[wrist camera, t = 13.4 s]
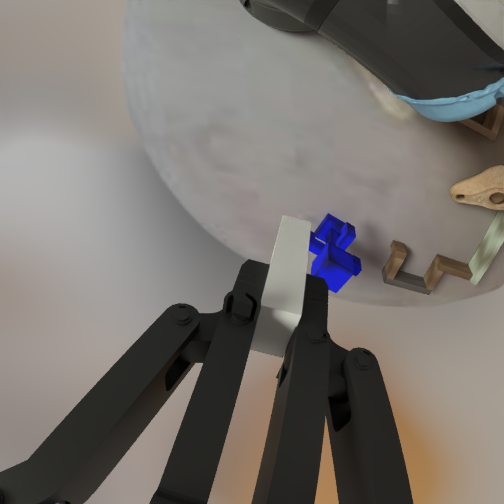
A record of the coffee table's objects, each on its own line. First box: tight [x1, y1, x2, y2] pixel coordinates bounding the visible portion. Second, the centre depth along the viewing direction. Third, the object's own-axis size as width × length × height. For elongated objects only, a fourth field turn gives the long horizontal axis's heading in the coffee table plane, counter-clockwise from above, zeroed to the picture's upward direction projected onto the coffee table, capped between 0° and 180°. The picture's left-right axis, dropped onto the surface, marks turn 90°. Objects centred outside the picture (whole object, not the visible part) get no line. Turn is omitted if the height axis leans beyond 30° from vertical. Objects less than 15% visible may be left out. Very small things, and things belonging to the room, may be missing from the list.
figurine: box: [309, 214, 362, 293], centre depth 44 cm, size 8×8×12 cm
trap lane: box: [382, 97, 504, 295], centre depth 39 cm, size 35×18×4 cm, turn 170°
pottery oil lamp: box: [450, 165, 504, 210], centre depth 35 cm, size 9×12×7 cm
